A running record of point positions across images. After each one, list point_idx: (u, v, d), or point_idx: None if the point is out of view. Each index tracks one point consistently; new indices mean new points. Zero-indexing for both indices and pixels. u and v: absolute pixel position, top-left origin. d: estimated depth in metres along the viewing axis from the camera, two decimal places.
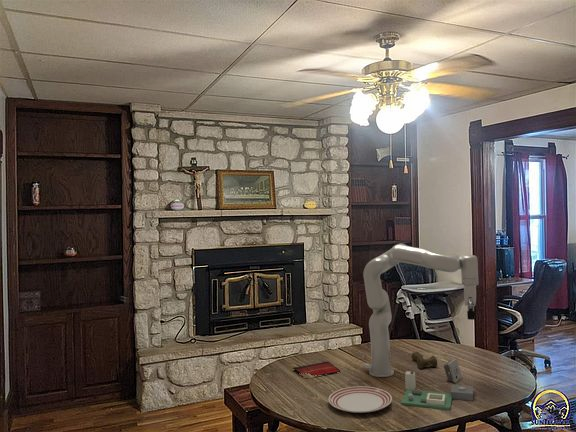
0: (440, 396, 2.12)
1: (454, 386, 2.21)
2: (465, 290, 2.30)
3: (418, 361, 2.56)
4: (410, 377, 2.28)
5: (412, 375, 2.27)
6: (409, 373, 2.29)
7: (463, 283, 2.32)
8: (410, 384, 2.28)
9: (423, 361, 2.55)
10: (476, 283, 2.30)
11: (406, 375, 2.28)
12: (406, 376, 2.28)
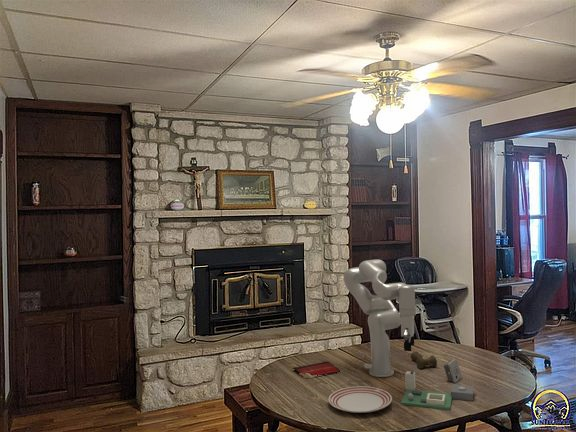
0: (440, 396, 2.12)
1: (454, 386, 2.21)
2: (402, 321, 2.26)
3: (418, 361, 2.56)
4: (410, 377, 2.28)
5: (412, 375, 2.27)
6: (409, 373, 2.29)
7: (400, 314, 2.28)
8: (410, 384, 2.28)
9: (423, 361, 2.55)
10: (413, 314, 2.26)
11: (406, 375, 2.28)
12: (406, 376, 2.28)
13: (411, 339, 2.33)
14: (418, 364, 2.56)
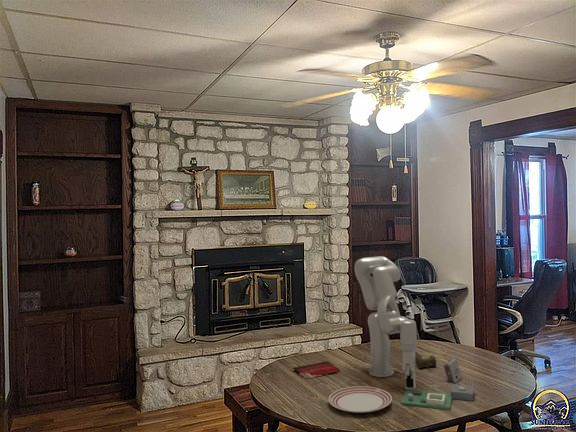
0: (440, 396, 2.12)
1: (454, 386, 2.21)
2: (403, 356, 2.26)
3: (417, 361, 2.56)
4: None
5: (412, 375, 2.27)
6: None
7: (402, 349, 2.28)
8: None
9: (422, 361, 2.55)
10: (414, 349, 2.26)
11: None
12: None
13: None
14: (418, 364, 2.56)
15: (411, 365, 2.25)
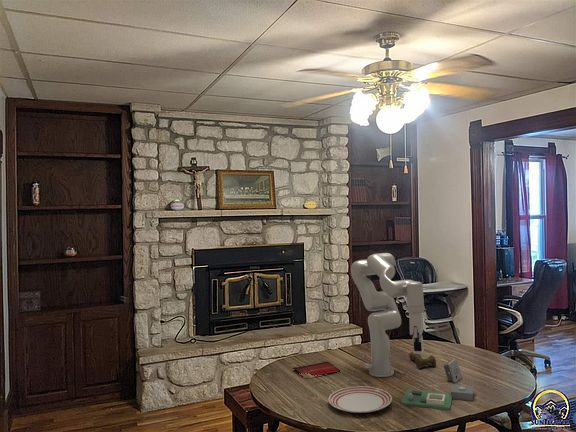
0: (440, 396, 2.12)
1: (454, 386, 2.21)
2: (410, 319, 2.19)
3: (417, 361, 2.56)
4: None
5: (420, 338, 2.20)
6: None
7: (408, 312, 2.21)
8: None
9: (422, 361, 2.55)
10: (421, 311, 2.19)
11: (413, 339, 2.21)
12: (413, 340, 2.21)
13: None
14: (417, 364, 2.56)
15: (419, 327, 2.17)
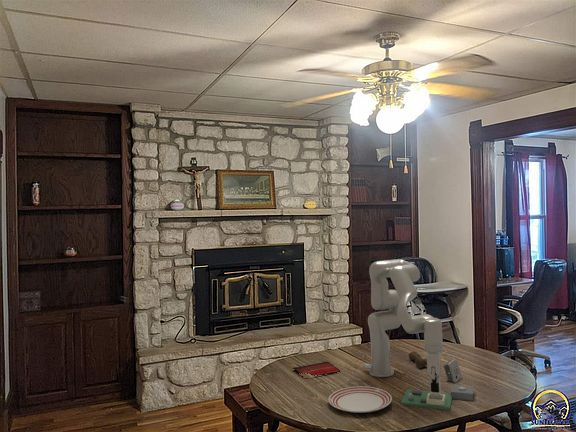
0: (440, 396, 2.12)
1: (454, 386, 2.21)
2: (428, 358, 2.06)
3: (417, 361, 2.56)
4: None
5: None
6: None
7: (426, 350, 2.09)
8: None
9: (422, 361, 2.56)
10: (440, 350, 2.06)
11: None
12: None
13: None
14: (417, 364, 2.56)
15: (437, 368, 2.05)
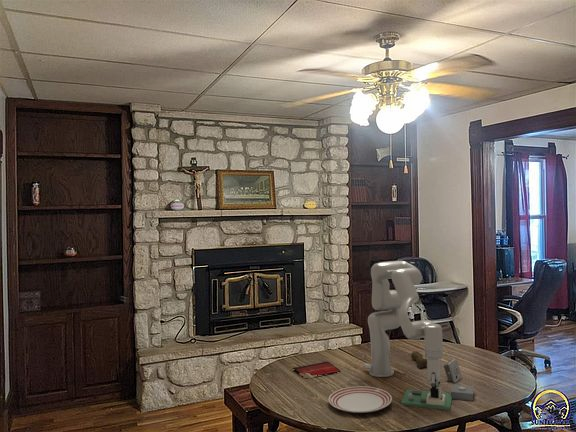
0: None
1: (454, 386, 2.21)
2: (428, 364, 2.06)
3: (417, 360, 2.57)
4: None
5: (438, 388, 2.08)
6: None
7: (426, 356, 2.09)
8: None
9: (422, 360, 2.56)
10: (440, 356, 2.07)
11: None
12: None
13: None
14: (418, 363, 2.57)
15: (437, 374, 2.05)
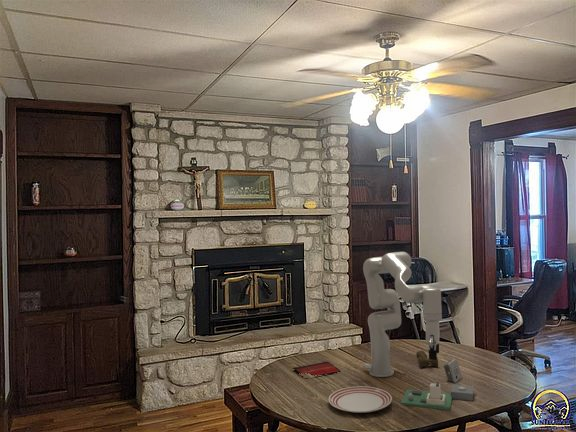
0: None
1: (454, 386, 2.21)
2: (426, 327, 2.07)
3: (419, 360, 2.58)
4: (436, 390, 2.08)
5: (438, 388, 2.08)
6: (434, 385, 2.09)
7: (425, 319, 2.09)
8: (436, 397, 2.08)
9: (423, 360, 2.56)
10: (439, 319, 2.07)
11: (431, 388, 2.09)
12: (431, 389, 2.09)
13: (436, 346, 2.14)
14: (419, 363, 2.58)
15: (435, 336, 2.05)
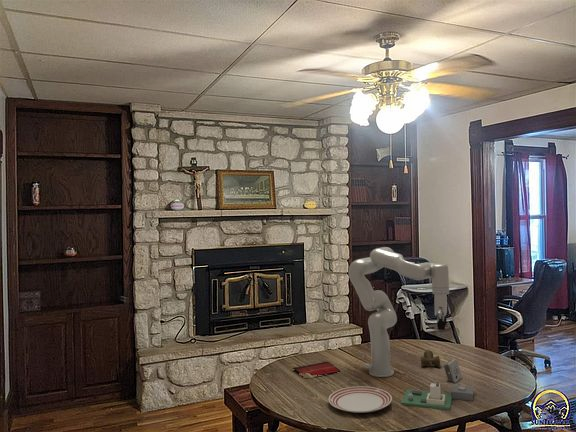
0: None
1: (454, 386, 2.21)
2: (435, 300, 2.24)
3: (421, 359, 2.59)
4: (436, 390, 2.08)
5: (438, 388, 2.08)
6: (434, 385, 2.09)
7: (433, 293, 2.26)
8: (436, 397, 2.08)
9: (425, 360, 2.57)
10: (446, 292, 2.24)
11: (431, 388, 2.09)
12: (431, 389, 2.09)
13: (443, 318, 2.31)
14: (421, 362, 2.59)
15: (444, 308, 2.22)
